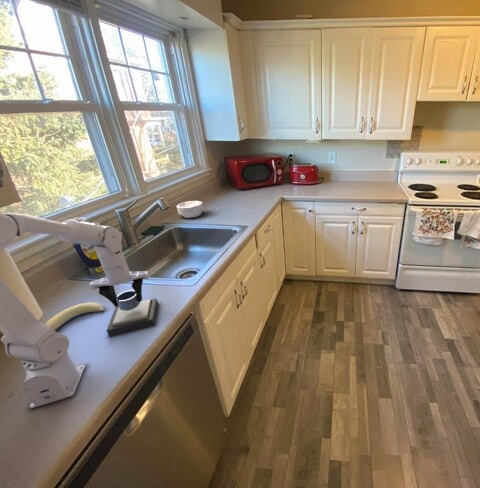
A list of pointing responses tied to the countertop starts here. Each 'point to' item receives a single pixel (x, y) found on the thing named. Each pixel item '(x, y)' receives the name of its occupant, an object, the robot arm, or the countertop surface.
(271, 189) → the countertop surface
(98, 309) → the fruit
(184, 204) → the paper bowls
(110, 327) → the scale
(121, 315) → the platform
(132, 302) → the bowl
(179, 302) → the countertop surface
